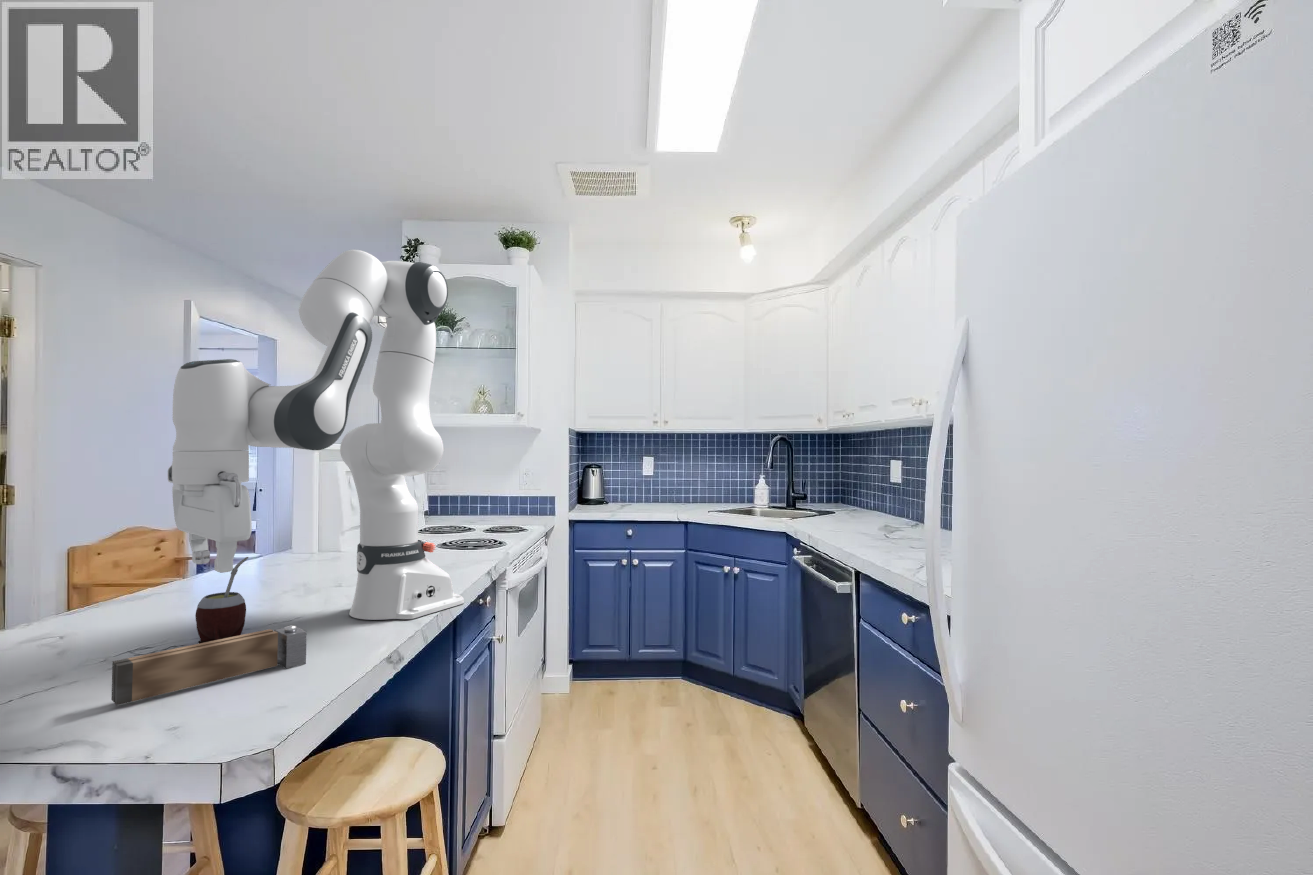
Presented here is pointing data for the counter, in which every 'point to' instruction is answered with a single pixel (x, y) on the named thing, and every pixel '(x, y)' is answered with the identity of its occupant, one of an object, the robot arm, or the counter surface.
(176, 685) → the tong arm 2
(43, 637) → the counter surface
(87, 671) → the counter surface
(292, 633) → the block
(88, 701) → the counter surface
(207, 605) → the mate gourd
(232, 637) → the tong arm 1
